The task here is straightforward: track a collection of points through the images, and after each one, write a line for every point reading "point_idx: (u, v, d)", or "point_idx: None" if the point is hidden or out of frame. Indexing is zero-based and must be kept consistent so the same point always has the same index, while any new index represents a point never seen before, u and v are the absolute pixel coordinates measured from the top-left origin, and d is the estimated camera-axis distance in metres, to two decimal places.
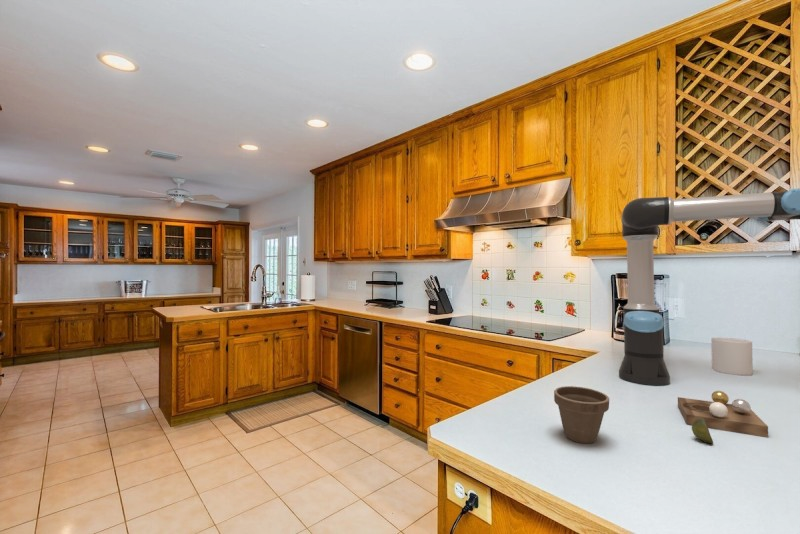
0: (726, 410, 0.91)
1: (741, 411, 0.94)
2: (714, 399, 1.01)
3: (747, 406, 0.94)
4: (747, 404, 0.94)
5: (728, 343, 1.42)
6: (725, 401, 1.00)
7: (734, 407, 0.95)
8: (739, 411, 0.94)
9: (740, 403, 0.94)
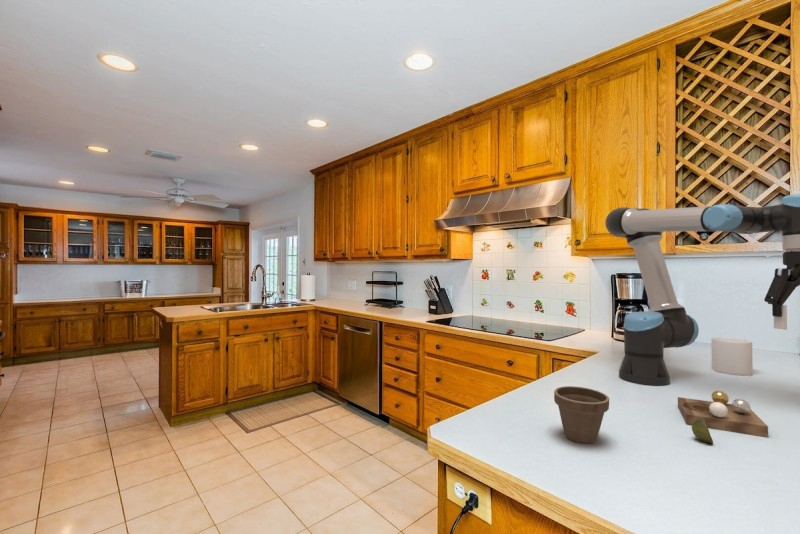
0: (726, 410, 0.91)
1: (741, 411, 0.94)
2: (714, 399, 1.01)
3: (747, 406, 0.94)
4: (747, 404, 0.94)
5: (728, 343, 1.42)
6: (725, 401, 1.00)
7: (734, 407, 0.95)
8: (739, 411, 0.94)
9: (740, 403, 0.94)
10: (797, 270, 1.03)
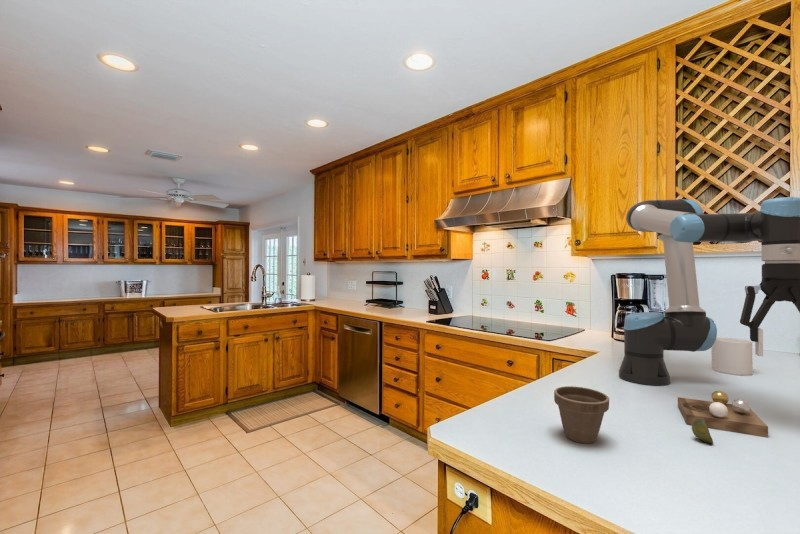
0: (726, 410, 0.91)
1: (741, 411, 0.94)
2: (714, 399, 1.01)
3: (747, 406, 0.94)
4: (747, 404, 0.94)
5: (728, 343, 1.42)
6: (725, 401, 1.00)
7: (734, 407, 0.95)
8: (739, 411, 0.94)
9: (740, 403, 0.94)
10: (768, 284, 0.92)
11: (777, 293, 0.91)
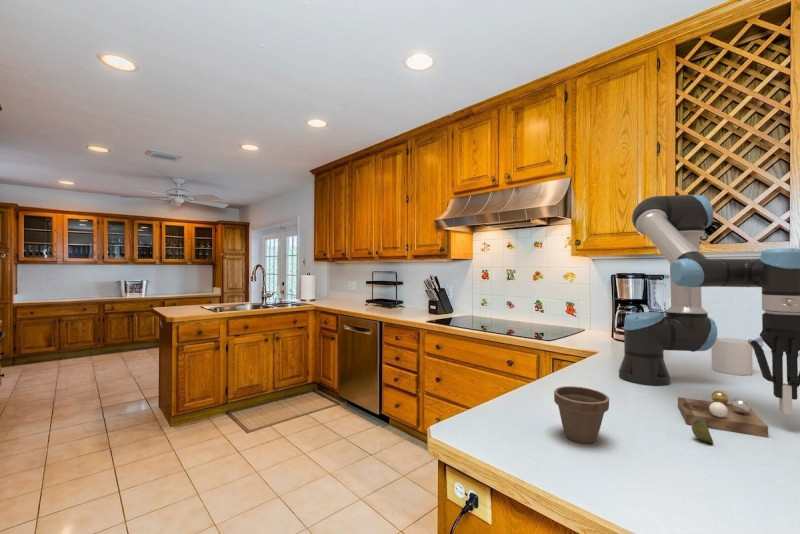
0: (726, 410, 0.91)
1: (741, 411, 0.94)
2: (714, 399, 1.01)
3: (747, 406, 0.94)
4: (747, 404, 0.94)
5: (728, 343, 1.42)
6: (725, 401, 1.00)
7: (734, 407, 0.95)
8: (739, 411, 0.94)
9: (740, 403, 0.94)
10: (768, 334, 0.92)
11: (780, 344, 0.90)
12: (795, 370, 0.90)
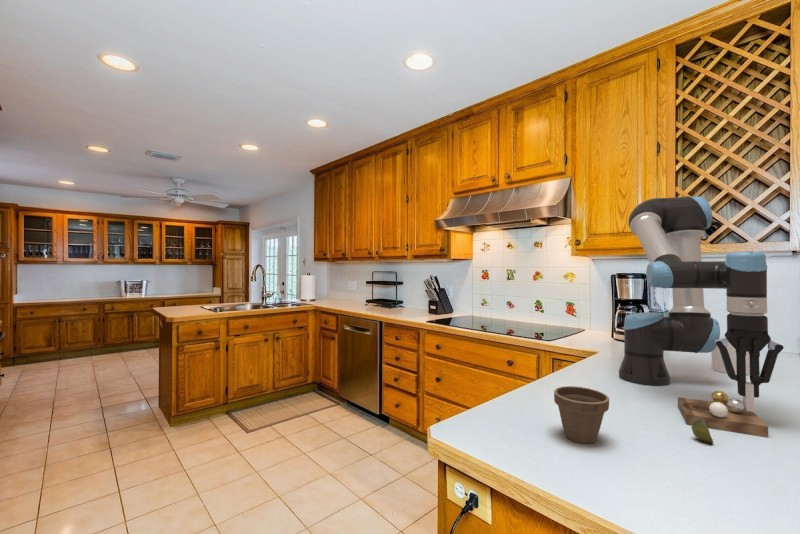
0: (726, 410, 0.91)
1: (738, 411, 0.94)
2: (714, 399, 1.01)
3: (739, 404, 0.94)
4: (738, 402, 0.94)
5: (728, 343, 1.42)
6: (725, 401, 1.00)
7: (731, 410, 0.95)
8: (737, 412, 0.94)
9: (732, 404, 0.95)
10: (732, 335, 0.95)
11: (743, 344, 0.94)
12: (757, 369, 0.93)
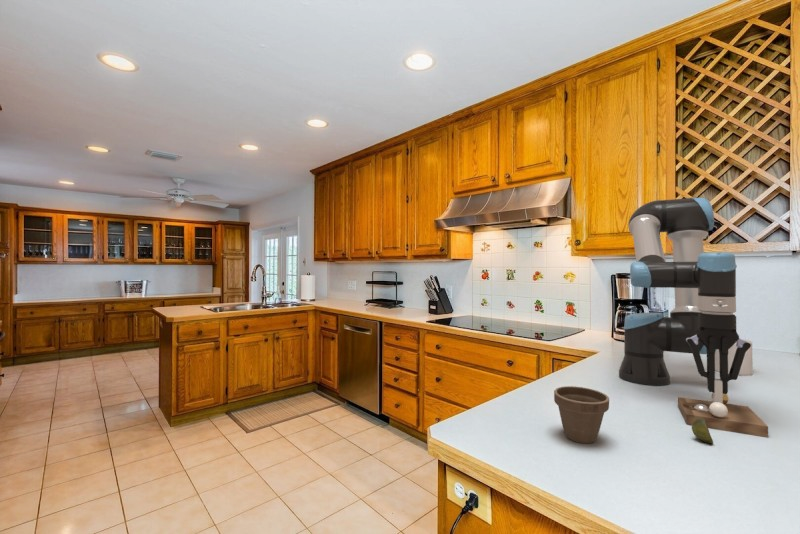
0: (726, 410, 0.91)
1: None
2: None
3: None
4: None
5: None
6: (725, 401, 1.00)
7: (699, 407, 0.98)
8: None
9: None
10: (702, 333, 0.98)
11: (712, 342, 0.97)
12: (726, 366, 0.96)
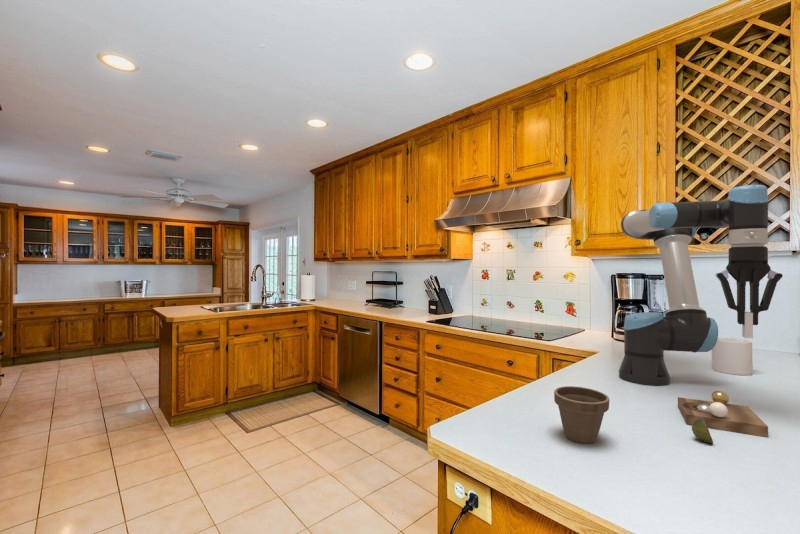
0: (726, 410, 0.91)
1: None
2: (714, 399, 1.01)
3: None
4: None
5: (728, 343, 1.42)
6: (725, 401, 1.00)
7: (704, 405, 0.98)
8: (701, 408, 0.98)
9: None
10: (733, 266, 0.99)
11: (743, 275, 0.98)
12: (756, 298, 0.97)
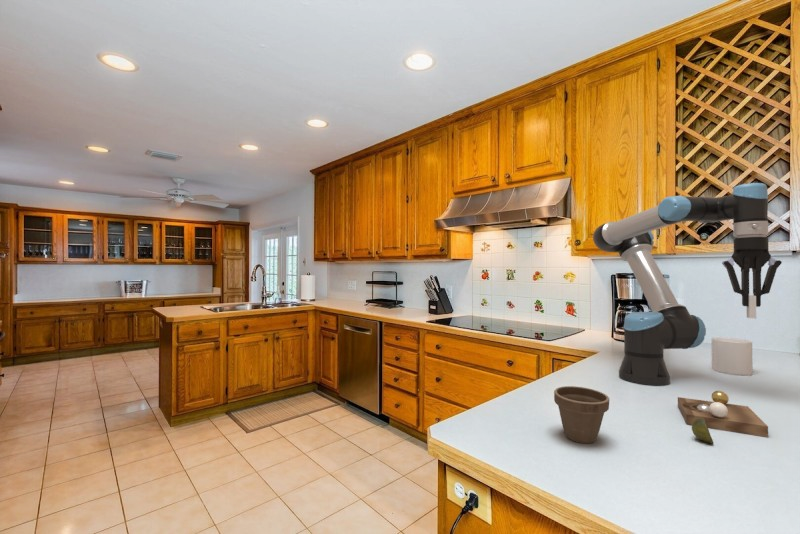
0: (726, 410, 0.91)
1: None
2: (714, 399, 1.01)
3: None
4: None
5: (728, 343, 1.42)
6: (725, 401, 1.00)
7: (704, 405, 0.98)
8: (700, 408, 0.98)
9: None
10: (737, 255, 1.12)
11: (747, 262, 1.11)
12: (759, 282, 1.10)
